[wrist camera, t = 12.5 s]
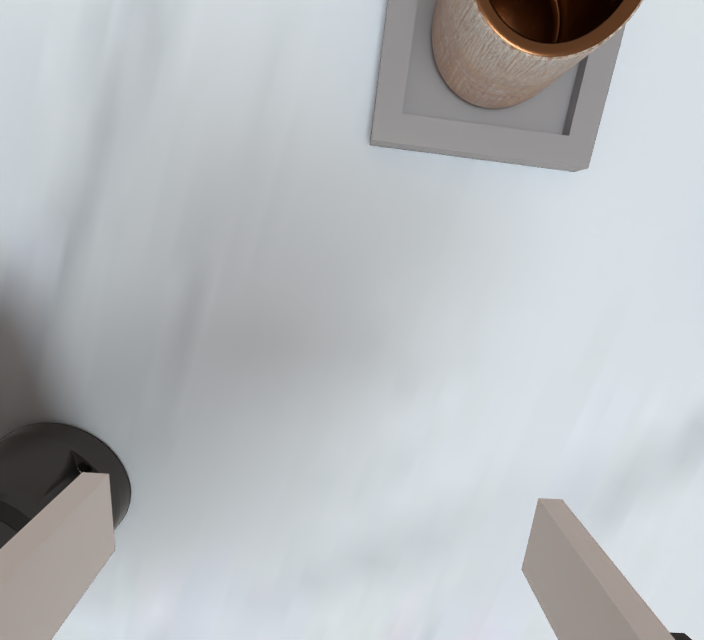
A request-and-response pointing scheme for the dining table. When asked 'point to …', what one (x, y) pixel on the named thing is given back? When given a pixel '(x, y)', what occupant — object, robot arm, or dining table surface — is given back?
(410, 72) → the grey tray
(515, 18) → the planter
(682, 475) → the dining table surface
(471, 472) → the dining table surface
